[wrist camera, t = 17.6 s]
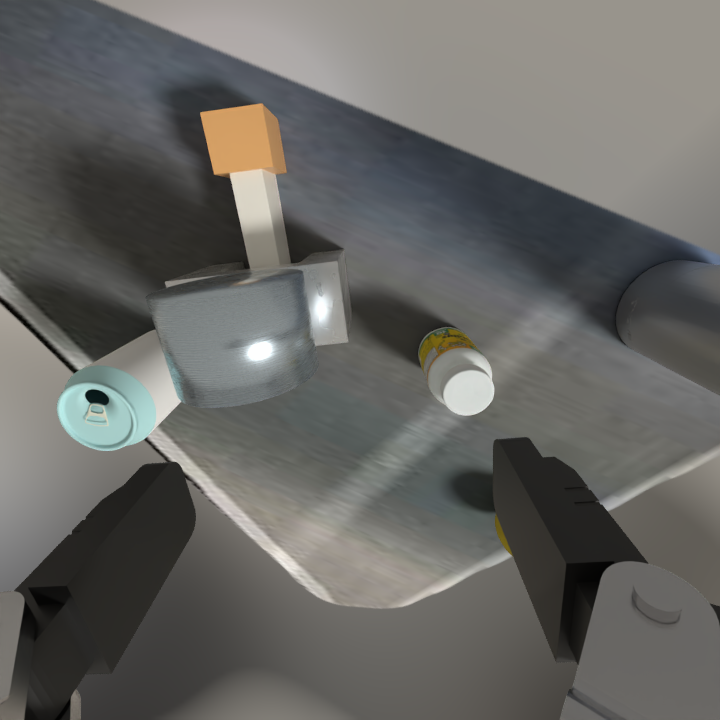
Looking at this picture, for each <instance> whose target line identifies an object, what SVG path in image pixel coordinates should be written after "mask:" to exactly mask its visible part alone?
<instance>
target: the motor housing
mask: <svg viewBox="0 0 720 720" xmlns="http://www.w3.org/2000/svg"><path fill="white" fill-rule="evenodd" d="M165 284H166V288H164V289H161V290H158V291H155V292H153V293H151V294H149V295H147V296H146V301H147V304H148V307H149V310H150V314H151V317H152V320H153V323H154V326H155V329H156V332H157V335H158V338H159V341H160V345H161V348H162V351H163V354H164V357H165V360H166V363H167V366H168V369H169V372H170V375H171V379H172V382H173V385H174V388H175V391H176V394H177V397H178V399H179V400H180V401H181V402H183V403H185V404H188V405H191V406H195V407H203V408H221V407H232V406H239V405H244V404H250V403H254V402H258V401H262V400H265V399H269V398H272V397H274V396H277V395H280V394H282V393H285V392H287V391H289V390H291V389H293V388H295V387H297V386H299V385H301V384H302V383H304V382H305V381H307V380H308V379H309V378H310V377H312V376H313V375H314V373H315V372H316V371H317V369H318V365H319V363H318V357H317V351H316V346H317V345H326V344H336V343H345V342H348V340H349V333H350V326H351V319H352V306H351V298H350V290H349V282H348V275H347V267H346V259H345V251H344V249H342V250H333V251H325V252H317V253H311V254H310V255H309V256H308V257H306V258H305V259H304V260H302V261H301V262H300V263H292V264H284V265H276V266H267V267H259V268H250V269H245V267H244V262H243V261H242V262H234V263H225V264H217V265H211V266H208V267H205V268H202V269H199V270H197V271H194V272H191V273H188V274H185V275H182V276H179V277H177V278H174V279H171V280H168V281H165Z"/></svg>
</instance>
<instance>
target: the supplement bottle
mask: <svg viewBox="0 0 720 720" xmlns="http://www.w3.org/2000/svg"><path fill="white" fill-rule="evenodd" d="M418 357H419V361H420V365H421V367H422V370H423V373H424V375H425V378H426V380H427V383H428V386H429V388H430V391H431V392H432V394H433V395H434V397H435V398H436V399H437V400H439V401H440V402H441V403H443V404H445V405H446V406H447V407H448V408H449V409H450V410H451V411H452V412H454V413H456V414H459V415H474V414H476V413H479V412H481V411H482V410H484V409H485V408H486V407H487V406H488V405H489V404H490V403H491V401H492V399H493V396H494V385H493V382H492V371H491V367H490V365H489V363H488V361H487V359H486V358H485V357H484V356H483V354H482V353H481V352H480V351H479V350H478V349H477V347H476V346H475V345H474V344H473V343H472V341H471V340H470V339H469V338H468V337H467V335H466V334H465V333H464V332H462V331H460V330H458V329H456V328H452V327H443V328H439V329H436V330H433V331H431V332H430V333H428V334H427V335H426V336H425V337H424V339H423V340H422V342H421V344H420V346H419V351H418Z"/></svg>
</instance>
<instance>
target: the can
mask: <svg viewBox="0 0 720 720" xmlns="http://www.w3.org/2000/svg"><path fill="white" fill-rule="evenodd" d="M180 402H181V401H180V400H179V399H178V397H177V394H176V391H175V388H174V385H173V382H172V379H171V375H170V372H169V369H168V366H167V363H166V360H165V357H164V354H163V351H162V348H161V345H160V341H159V338H158V335H157V332H156V330H152V331H149V332H147V333H146V334H144V335H142V336H140V337H138V338H137V339H135V340H133V341H131V342H129V343H128V344H126V345H124V346H122V347H120V348H119V349H117V350H115V351H113V352H111V353H110V354H108V355H106V356H104V357H102V358H101V359H99V360H97V361H95V362H93V363H92V364H90V365H88V366H86V367H84V368H83V369H81V370H79V371H77V372H76V373H75V374H74V375H73V376H72V377H71V378H70V379H69V380H68V382H67V384H66V386H65V389H64V391H63V392H62V394H61V395H60V397H59V399H58V402H57V414H58V417H59V420H60V423H61V424H62V426H63V428H64V429H65V430H66V432H67V433H68V434H69V435H70V436H71V437H72V438H74V439H75V440H76V441H78V442H79V443H81V444H83V445H85V446H87V447H90V448H92V449H96V450H102V451H111V450H116V449H120V448H122V447H124V446H128V445H132V444H135V443H138V442H140V441H142V440H143V439H145V438H146V437H147V436H148V435H149V434H150V433H151V432H152V431H153V430H154V429H155V428H156V427H157V426H158V425H159V424H160V423H161V422H162V421H163V420H164V419H165V418H166V417H167V416H168V415H169V414H170V412H171V411H172V410H173V409H174V408H175V407H176V406H177V405H178V404H179V403H180Z"/></svg>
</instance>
